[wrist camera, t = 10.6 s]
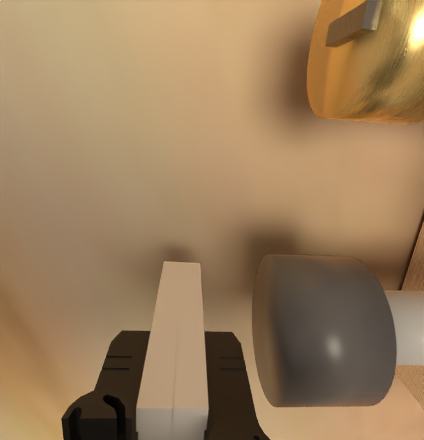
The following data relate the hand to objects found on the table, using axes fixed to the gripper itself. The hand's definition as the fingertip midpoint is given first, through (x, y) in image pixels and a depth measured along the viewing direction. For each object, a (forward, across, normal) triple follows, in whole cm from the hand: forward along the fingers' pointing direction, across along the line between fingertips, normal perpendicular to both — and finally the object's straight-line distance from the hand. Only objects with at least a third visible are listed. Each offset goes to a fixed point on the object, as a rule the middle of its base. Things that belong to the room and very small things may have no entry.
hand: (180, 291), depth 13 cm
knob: (0, +9, 0) cm, 9 cm away
